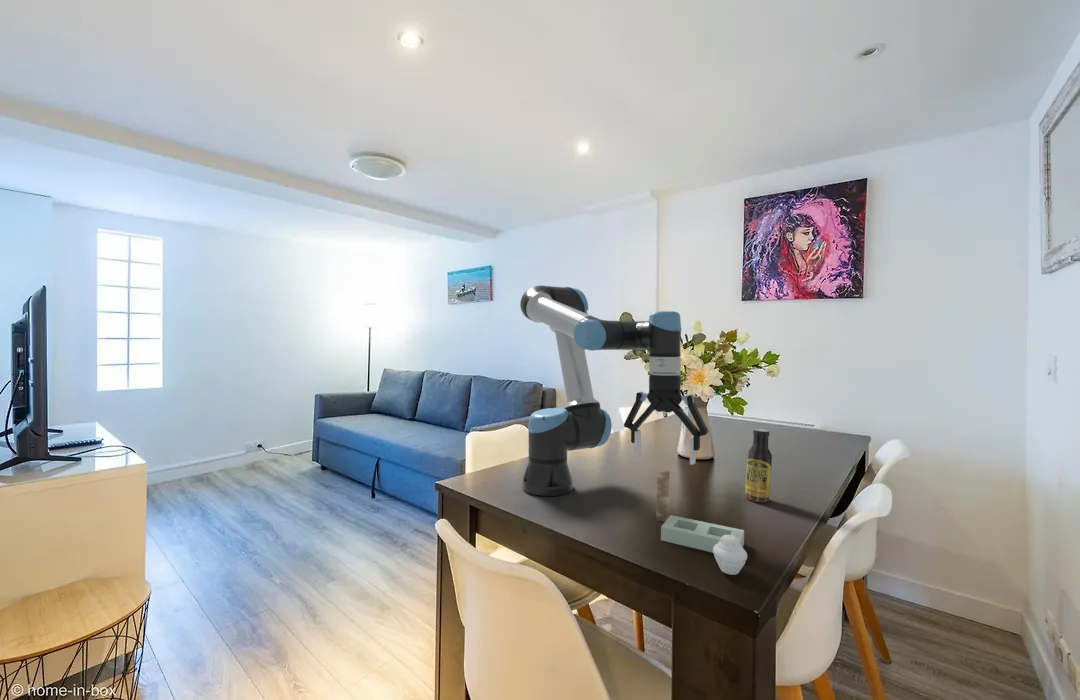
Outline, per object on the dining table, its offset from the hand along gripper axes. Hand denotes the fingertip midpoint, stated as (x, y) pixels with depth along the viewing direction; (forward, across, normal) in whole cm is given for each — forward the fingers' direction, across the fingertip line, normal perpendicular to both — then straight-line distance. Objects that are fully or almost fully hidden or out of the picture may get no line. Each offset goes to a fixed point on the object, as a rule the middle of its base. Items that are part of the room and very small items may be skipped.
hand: (664, 459), depth 111 cm
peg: (+15, 0, 0) cm, 15 cm away
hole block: (+15, +11, -8) cm, 20 cm away
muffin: (+16, +18, -18) cm, 29 cm away
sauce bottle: (+15, +19, +28) cm, 37 cm away
